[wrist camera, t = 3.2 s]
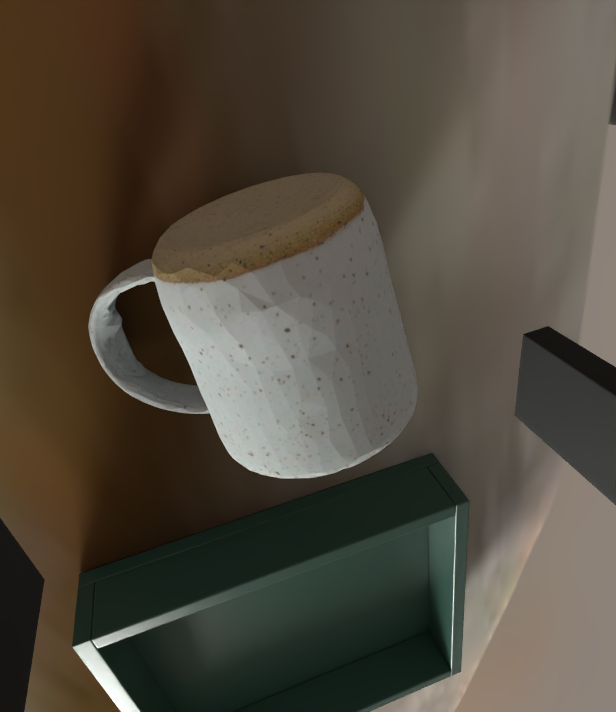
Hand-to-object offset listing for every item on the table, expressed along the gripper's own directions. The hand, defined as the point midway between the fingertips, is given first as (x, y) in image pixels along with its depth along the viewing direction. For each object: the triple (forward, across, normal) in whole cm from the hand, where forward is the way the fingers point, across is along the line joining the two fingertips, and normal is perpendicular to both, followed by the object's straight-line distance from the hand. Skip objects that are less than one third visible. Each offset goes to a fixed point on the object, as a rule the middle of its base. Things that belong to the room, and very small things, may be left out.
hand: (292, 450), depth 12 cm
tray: (+10, -1, -21) cm, 23 cm away
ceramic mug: (+10, 0, 0) cm, 10 cm away
